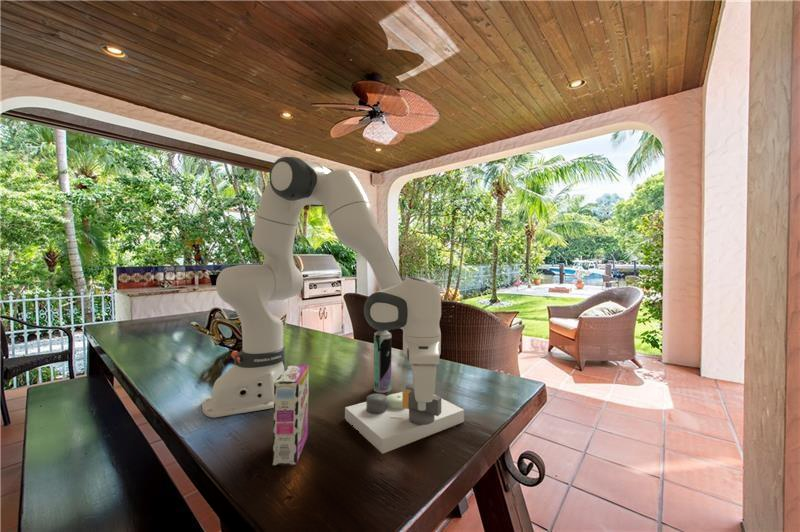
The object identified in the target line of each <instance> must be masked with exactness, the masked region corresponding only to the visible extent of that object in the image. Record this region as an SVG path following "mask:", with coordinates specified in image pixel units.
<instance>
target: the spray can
mask: <svg viewBox="0 0 800 532" xmlns="http://www.w3.org/2000/svg"><path fill="white" fill-rule="evenodd" d="M373 391H374V392H375V393H377V394H385V393H389V392H391V391H392V333H391V332H389V330H377V331H376V332H374V336H373Z"/></svg>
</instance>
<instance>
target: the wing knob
mask: <svg viewBox="0 0 800 532" xmlns="http://www.w3.org/2000/svg"><path fill="white" fill-rule="evenodd" d="M401 392H402V408H406V409H409V420H410V421H411V422H412V423H414V424H418V425H427V424H431V423H432V422H434V420H435V416H439V415H440V414H441V398H442V396H438V395H436V396H434V397H433V400H432V402H426V410H424V411H419V410H418V402H417V401H416V400H415V394H414V391H412V390H408V389H406V388H405V390H403V391H401Z"/></svg>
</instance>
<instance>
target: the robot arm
mask: <svg viewBox="0 0 800 532" xmlns="http://www.w3.org/2000/svg"><path fill="white" fill-rule="evenodd" d="M268 179H269V182H268V183H266V186H265V188H264V190H263V193H262V195H261V197H260V201H259V204H258V208H257V212H256V216H255V217H256V218H255V221H254V225H253V231H252V235H251V242H252V244H253V246H254V247H255V249H257V250H258V251H259V252H261V253H262V254H263V257H264V258H263V262H262V264H238V265H234V266H229V267H225V268H224V269H222V270H221V271H220V273H219V274H218V276H217V278H216V282H215V283H216V284H215V287H216V288H215V289H216V292H217V294H218V297H219V298H220V299H221V300H222V301H223V302H224V303H226V304H227V305H229V306H230V307H231V308H232V309H233V310H234V311H235V313H236V314H237V316H238V319H239V321H240V326H241V338H242V350H240V351H238V350H232V352H231V354H230V355H231V357H232V359H233V360H234V365H233V366H231V368H229V369H228V370H227V371H225V372H224V373H223V374H221V375H220V376H219V377H218V378H217V379H216V380H215V382H214V383H213V386H212V390H211V394H210V395H209V396H207V397H205V398H204V399H203V401H202V404H201V410H202V414H204V416H206V417H209V418H219V417H220V418H221V417H225V416H232V415H237V414H244V413H250V412H256V411H262V410H268V409H274V382H275V381H276V380H277V379H278V378H279V377H280V375H281V374H282V373H283V372H284V371H285V364H286V350H285V349H286V348H285V346H284V323H283V320H282V319H281V317H279V316H277V315H275V314H273V313H271V311H270V309H269V305H268V302H273V301H283V300H288V299H291V298H293V297H296V296H298V295H299V294H300V293H301V291H302V290H303V287H304V276H303V273H302V272H301V270H300V269H299V268H298V267H297V266H296V263H295V260H294V254H293V253H294V243H295V238H296V233H297V228H298V224H299V220H300V219H299V218H300V215H301V212H302V209H303V208H304V207H305V206H311V207H314V208H315V207H324V210H325V212H326V213H325V214H326V216H327V218H328V221H329V224H330V225H331V229H332V232H334V234H335V236H336V238H337V240H339V242H340V243H341V244H342V245H344V246H345V247H346V248H348V249H350V250H352V251H354V252H356V253H358V254H359V255H360V256H361V257H362V258H364V259H365V261H367V263H368V264H369V266H370V268H371V270H372V272H373V275H374V276H375V279H376V281H377V283H378V285H379V287H380V290H378V291H375V292H374V293H371V294H370V295H369V296H368V297H367V299H366V300H365V302H364V305H363V315H364V318H365V320H366V322H367V323H368V325H369V326H370V327H371V328H373V329H374V330H377V331H378V330H387V331H391V330H397V329H401V330H402V354H403V355H405V356H406V358H407V361H408V364H410V369H411V374H412V384H413V385H414V394H415V400H416V401H417V402H418V410H419V411H424V410H426V402H432V400H433V397H434V395H435V390H436V388H435V387H436V380H437V379H436V377H437V365H439V364H440V355H441V351H442V350H441V349H442V347H441V345H442V343H441V342H442V332H441V327H440V321H441V317H442V298H441V290H440V286H439V284H438V283H437V282H436V280H434V279H431V278H429V277H425V276H424V277H423V276H418V275H417V276H416V275H415V276H414V275H410V276H407V277H406V278H405V279H404V280H403V278H402V275H401V274H400V272H399V270H398V266H397V265H396V263H395V261H394V258H393V256H392V254H391V252H390V250H389V248H388V246H387V244H386V241H385V239H384V237H383V234H382V232H381V230H380V227H379V224H378V222H377V219H376V215H375V213H374V211H373V207H372V206H371V202H370V201H369V198H368V196H367V194H366V192H365V190H364V187H363V186H362V184H361V183H360V181H359V179H358V178H357V176H356V175H355V174H354V173H353V172H352V171H351V170H348V169H345V168H339V169H332V168H329V167H326V166H324V165H322V164H320V163H318V162H314V161H308V160H306V159H302V158H299V157H296V156H282V157H279V158H278V159H276V160H275V161H274V162H273V164H272V165H271V167H270V171H269V175H268Z"/></svg>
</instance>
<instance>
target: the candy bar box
mask: <svg viewBox="0 0 800 532" xmlns="http://www.w3.org/2000/svg"><path fill="white" fill-rule="evenodd" d="M309 386H310V365H301V364H300V365H288V366H287V367H286V369H284V372H283V373H282V374H281V375H280V377H279V378H278V379H277V380H276V381H275V382H274V407H273V429H272V431H273V432H272V433H273V436H272V437H273V439H272V440H273V441H272V466H274V467H275V466H276V465H281V466H296V465H298V462H299V460H300V457H301V455H302V451H303V448H304V446H305V444H306V442H307V439H308V436H309V395H310V393H309V391H310V387H309Z"/></svg>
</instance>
